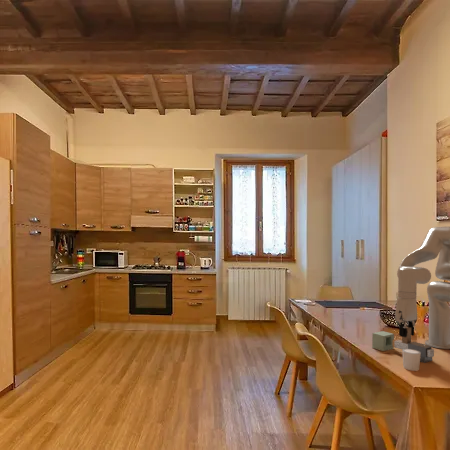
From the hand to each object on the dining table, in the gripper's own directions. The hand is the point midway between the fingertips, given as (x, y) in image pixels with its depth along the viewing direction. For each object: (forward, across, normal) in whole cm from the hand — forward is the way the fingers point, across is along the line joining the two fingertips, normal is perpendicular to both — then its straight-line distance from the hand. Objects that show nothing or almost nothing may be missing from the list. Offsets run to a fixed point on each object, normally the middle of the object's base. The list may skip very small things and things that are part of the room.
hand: (406, 335), depth 174 cm
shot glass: (+9, +14, +11) cm, 20 cm away
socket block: (+9, 0, -12) cm, 15 cm away
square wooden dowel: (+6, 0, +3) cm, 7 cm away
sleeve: (+9, 0, +6) cm, 11 cm away
